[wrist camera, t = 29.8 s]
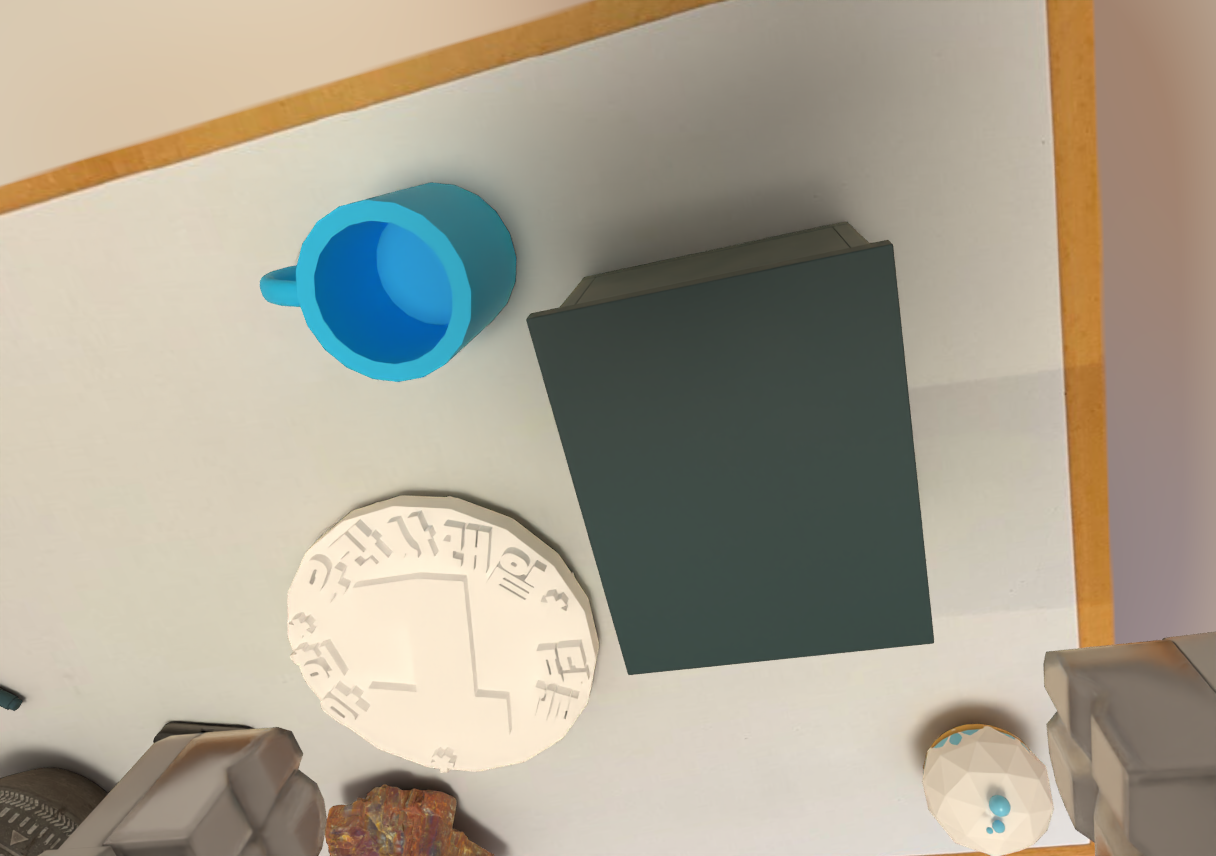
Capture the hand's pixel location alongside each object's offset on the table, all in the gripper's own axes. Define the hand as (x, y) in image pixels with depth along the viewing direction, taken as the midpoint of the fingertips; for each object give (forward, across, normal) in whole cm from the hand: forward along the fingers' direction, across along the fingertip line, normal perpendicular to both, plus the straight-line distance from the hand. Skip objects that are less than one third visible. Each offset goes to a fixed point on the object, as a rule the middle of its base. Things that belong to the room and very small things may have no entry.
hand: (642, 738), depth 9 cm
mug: (+35, +16, -2) cm, 39 cm away
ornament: (+35, -10, +34) cm, 50 cm away
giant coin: (+35, +21, +21) cm, 46 cm away
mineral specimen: (+35, +28, +37) cm, 58 cm away
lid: (+24, 0, +9) cm, 25 cm away
